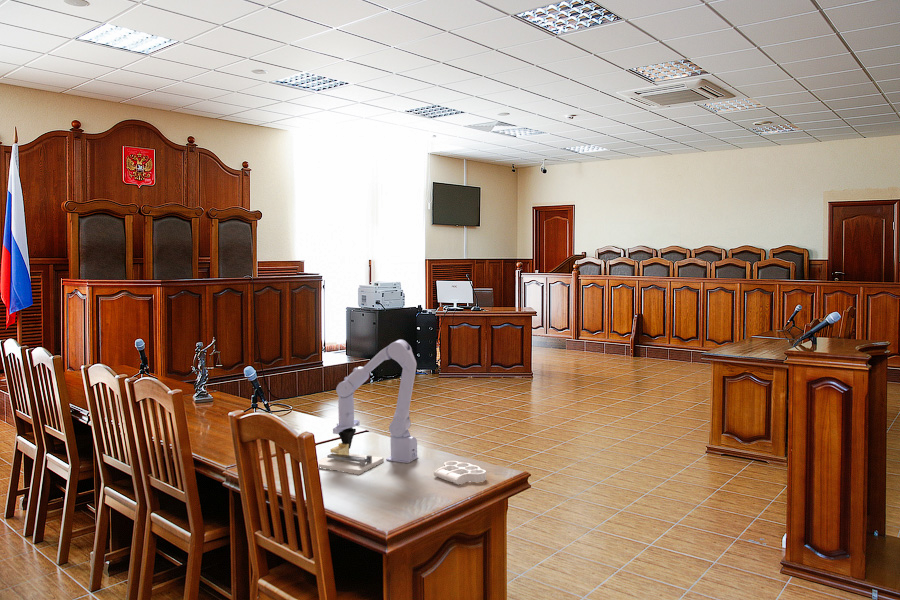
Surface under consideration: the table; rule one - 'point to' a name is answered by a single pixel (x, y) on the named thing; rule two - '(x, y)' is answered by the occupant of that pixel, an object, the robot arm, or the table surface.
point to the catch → (341, 449)
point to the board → (350, 464)
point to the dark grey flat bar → (347, 457)
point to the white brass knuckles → (460, 472)
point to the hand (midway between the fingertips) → (346, 448)
